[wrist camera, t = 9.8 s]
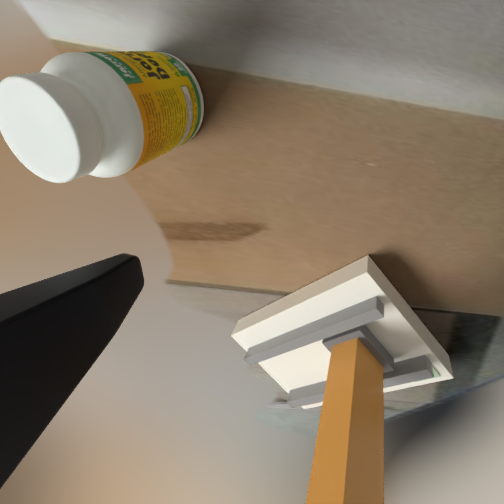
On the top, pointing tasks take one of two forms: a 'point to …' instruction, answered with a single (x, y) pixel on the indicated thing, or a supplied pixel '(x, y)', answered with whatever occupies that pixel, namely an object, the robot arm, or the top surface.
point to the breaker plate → (337, 321)
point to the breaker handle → (351, 422)
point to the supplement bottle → (99, 112)
